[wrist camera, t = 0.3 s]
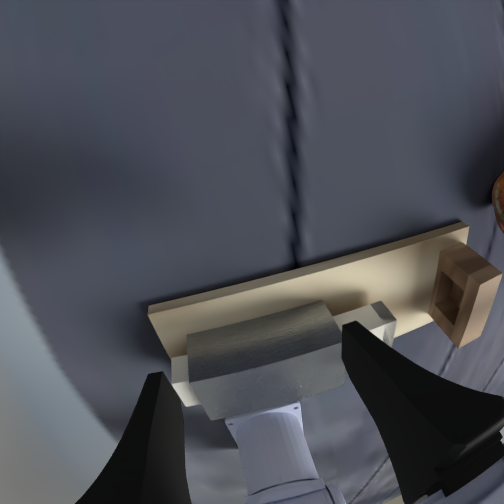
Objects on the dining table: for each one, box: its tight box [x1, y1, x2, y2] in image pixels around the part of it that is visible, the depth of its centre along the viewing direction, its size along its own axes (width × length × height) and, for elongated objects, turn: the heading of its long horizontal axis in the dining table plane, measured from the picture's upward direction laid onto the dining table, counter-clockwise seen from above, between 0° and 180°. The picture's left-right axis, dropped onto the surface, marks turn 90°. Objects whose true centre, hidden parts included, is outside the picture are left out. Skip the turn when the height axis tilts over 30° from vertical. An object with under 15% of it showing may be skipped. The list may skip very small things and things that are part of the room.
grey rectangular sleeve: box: [187, 300, 345, 421], centre depth 21 cm, size 5×10×4 cm, turn 100°
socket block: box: [428, 243, 502, 349], centre depth 22 cm, size 7×3×5 cm, turn 10°
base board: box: [148, 222, 469, 359], centre depth 24 cm, size 10×26×1 cm, turn 100°
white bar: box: [171, 301, 397, 407], centre depth 19 cm, size 3×16×8 cm, turn 100°
